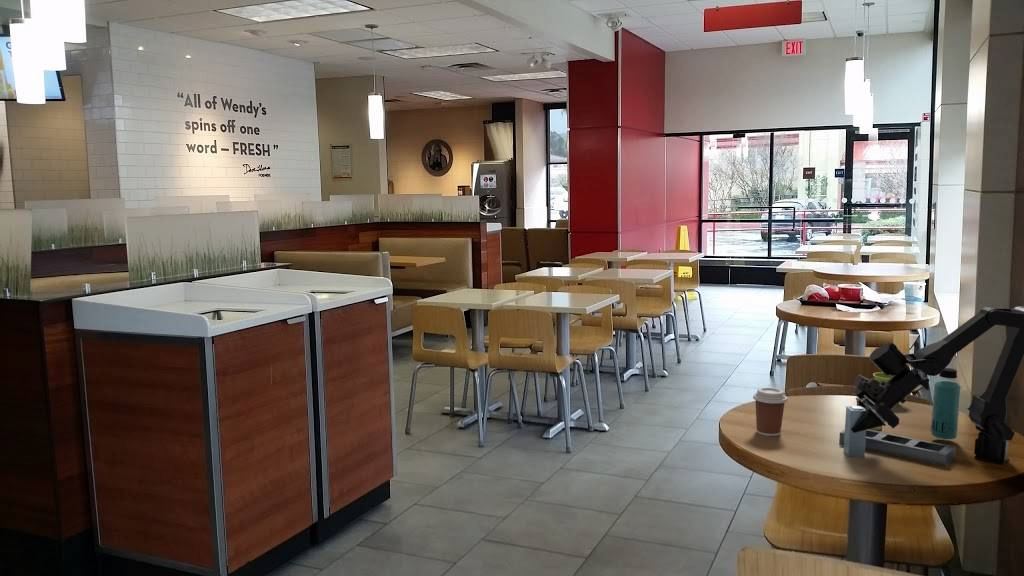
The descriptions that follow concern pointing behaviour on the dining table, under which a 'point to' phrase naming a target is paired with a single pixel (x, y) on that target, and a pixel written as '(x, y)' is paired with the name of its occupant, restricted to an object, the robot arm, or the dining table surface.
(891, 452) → the grey slotted rack
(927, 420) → the dining table surface
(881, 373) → the plant pot
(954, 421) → the beverage bottle
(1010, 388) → the robot arm
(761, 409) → the coffee cup
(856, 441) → the light blue tall block
